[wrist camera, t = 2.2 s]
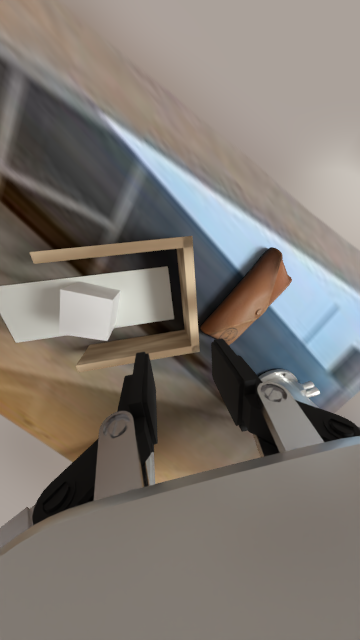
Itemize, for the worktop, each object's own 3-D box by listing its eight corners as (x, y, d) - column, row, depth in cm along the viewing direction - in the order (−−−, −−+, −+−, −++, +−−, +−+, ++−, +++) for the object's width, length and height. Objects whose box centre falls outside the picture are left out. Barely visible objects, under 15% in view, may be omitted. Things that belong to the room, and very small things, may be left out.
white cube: (77, 317, 28) (58, 333, 22) (79, 281, 26) (59, 289, 20) (115, 324, 29) (107, 341, 24) (120, 290, 27) (112, 299, 22)
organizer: (57, 252, 24) (29, 252, 19) (183, 239, 26) (192, 235, 21) (91, 350, 30) (78, 372, 25) (191, 334, 32) (199, 351, 27)
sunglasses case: (228, 349, 35) (229, 357, 28) (202, 326, 36) (197, 329, 30) (295, 278, 31) (313, 268, 25) (263, 255, 33) (272, 241, 26)
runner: (167, 266, 27) (167, 266, 27) (174, 318, 31) (174, 318, 30) (-13, 287, 24) (-14, 287, 24) (16, 342, 28) (16, 342, 28)
